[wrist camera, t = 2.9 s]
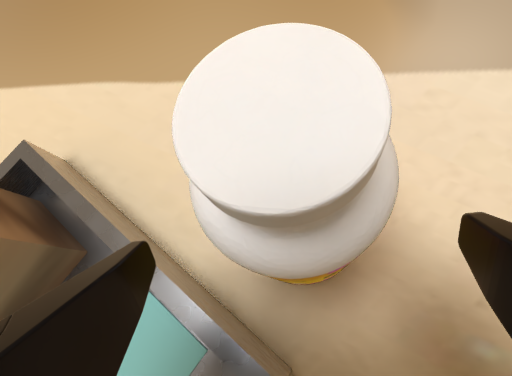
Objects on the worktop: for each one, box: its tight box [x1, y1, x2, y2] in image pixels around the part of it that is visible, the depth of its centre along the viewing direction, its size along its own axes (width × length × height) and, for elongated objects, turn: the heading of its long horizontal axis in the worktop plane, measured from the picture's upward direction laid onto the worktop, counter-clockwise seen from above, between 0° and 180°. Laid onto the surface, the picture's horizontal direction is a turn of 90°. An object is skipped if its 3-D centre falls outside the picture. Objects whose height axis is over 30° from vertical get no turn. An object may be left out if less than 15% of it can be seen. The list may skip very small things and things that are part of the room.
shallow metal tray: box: [0, 140, 291, 376], centre depth 17 cm, size 22×12×4 cm, turn 51°
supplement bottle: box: [172, 23, 399, 285], centre depth 12 cm, size 7×7×13 cm
